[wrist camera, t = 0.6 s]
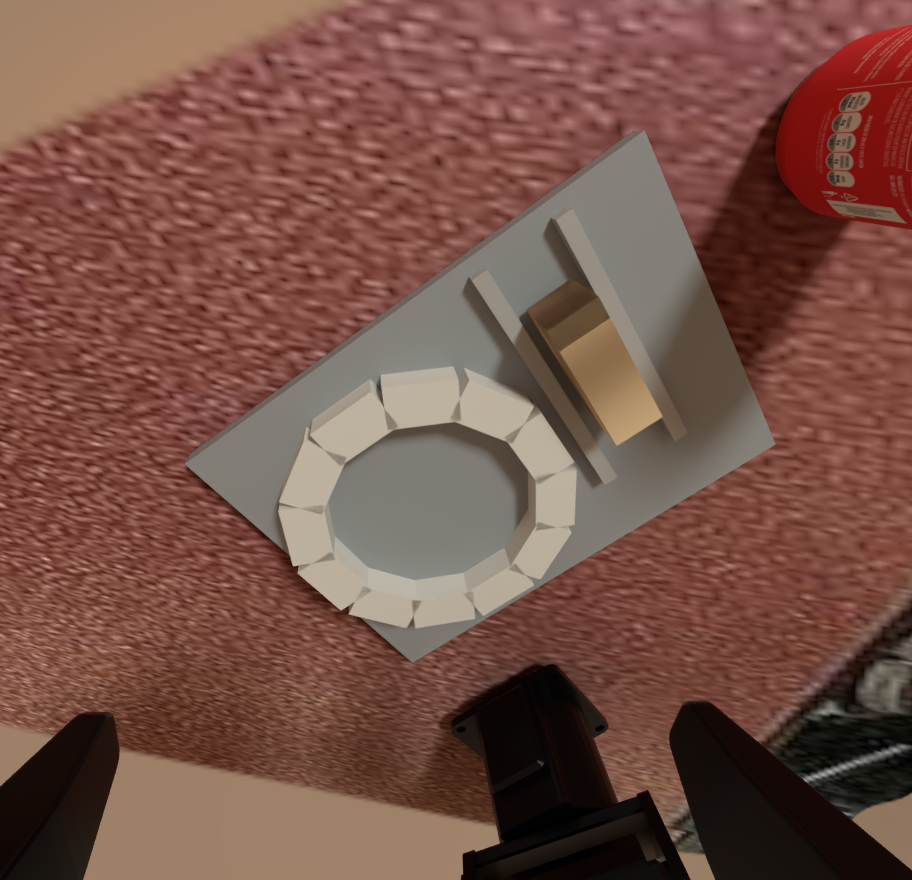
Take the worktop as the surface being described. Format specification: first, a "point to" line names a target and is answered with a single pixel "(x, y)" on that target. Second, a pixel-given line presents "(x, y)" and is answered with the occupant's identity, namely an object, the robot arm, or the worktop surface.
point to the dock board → (495, 417)
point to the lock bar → (595, 360)
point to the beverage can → (853, 133)
